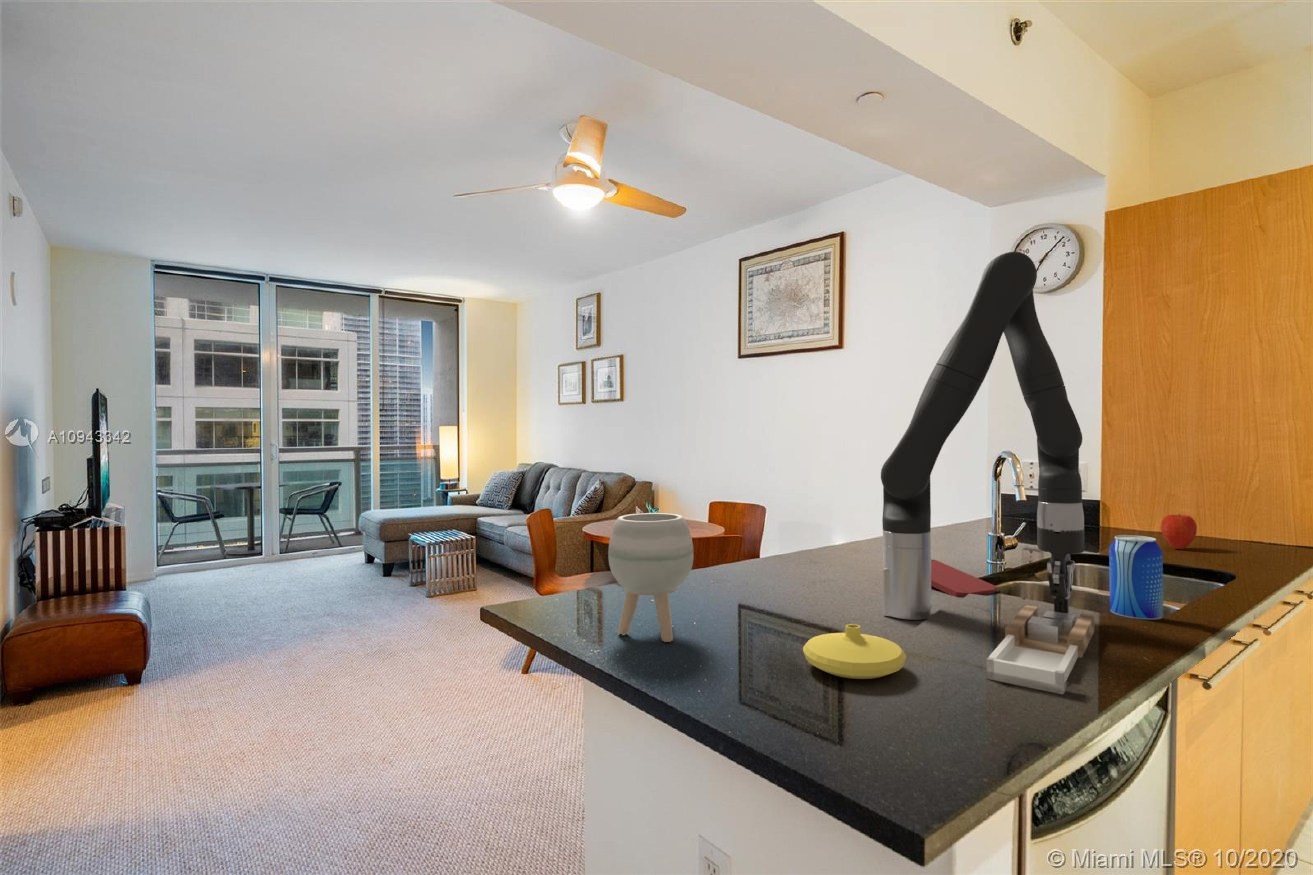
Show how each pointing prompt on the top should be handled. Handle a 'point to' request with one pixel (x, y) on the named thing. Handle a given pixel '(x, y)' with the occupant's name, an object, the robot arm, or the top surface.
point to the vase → (854, 654)
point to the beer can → (1136, 577)
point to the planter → (650, 562)
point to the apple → (1179, 530)
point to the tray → (1031, 666)
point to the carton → (957, 581)
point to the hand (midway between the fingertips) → (1061, 617)
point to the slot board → (1077, 636)
